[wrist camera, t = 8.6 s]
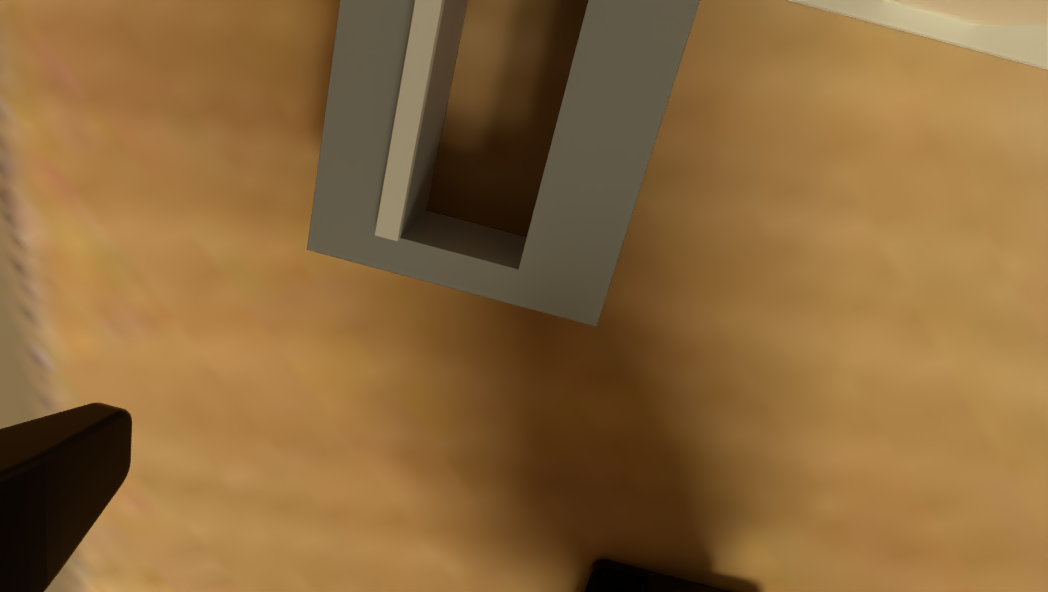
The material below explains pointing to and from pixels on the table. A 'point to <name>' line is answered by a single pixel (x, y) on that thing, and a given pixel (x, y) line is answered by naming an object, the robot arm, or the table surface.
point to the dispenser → (414, 135)
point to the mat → (948, 29)
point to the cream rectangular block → (985, 10)
